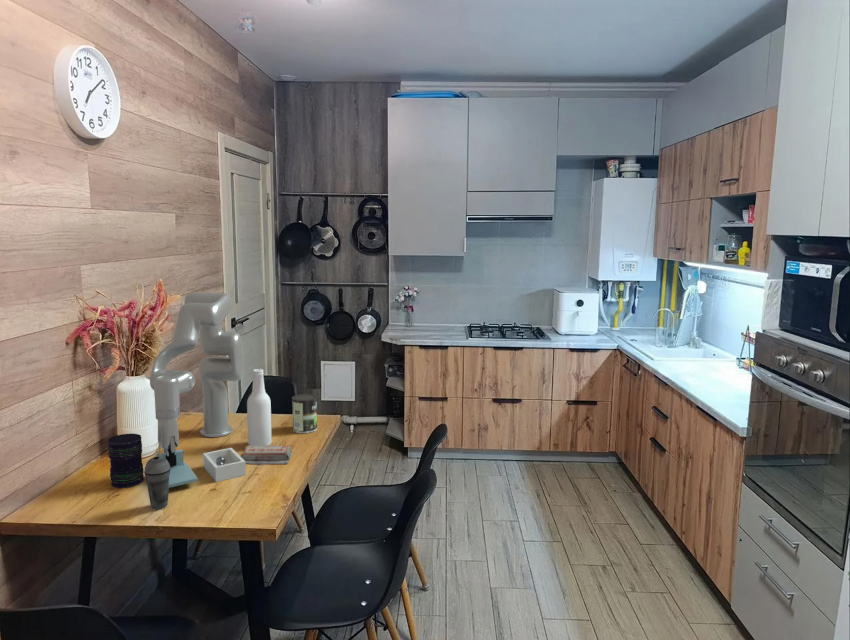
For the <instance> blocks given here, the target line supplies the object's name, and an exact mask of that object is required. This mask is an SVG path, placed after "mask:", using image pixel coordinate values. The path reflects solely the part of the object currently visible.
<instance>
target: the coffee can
mask: <svg viewBox="0 0 850 640" xmlns="http://www.w3.org/2000/svg"><path fill="white" fill-rule="evenodd" d="M317 399H318V396H317V395H316V394H312V393H302V394H296V395H293V396H292V397H291V402H292V432H294V433H297V434H310V432H311V433H314V432H316V431H317V430H318V400H317ZM313 431H314V432H313Z"/></svg>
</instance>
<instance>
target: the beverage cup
mask: <svg viewBox="0 0 850 640" xmlns="http://www.w3.org/2000/svg"><path fill="white" fill-rule="evenodd" d="M161 453H162V447H161V443H159V442H158V454H159V455H158V457H157V456H154V457H151V458H150V459H149V460H147V462H146V464H145V467H144V473H143V475H144V476H145V479H146V485H147V491H148V497H149V503H150V509H151V508H152V509H151V510H153V509H155V510H154V511H157V510H156V509H161V510H163V509H162V508H164V509H166V508H167V507H168V506H167V505H169V504H168V503H169V489H170V488H169V475H170V470H171V468H170V465H169V462H168V461H167V460H166V459H165V458H163V457H160V454H161ZM166 506H167V507H166ZM165 507H166V508H165Z"/></svg>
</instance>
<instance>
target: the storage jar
mask: <svg viewBox="0 0 850 640" xmlns="http://www.w3.org/2000/svg"><path fill="white" fill-rule="evenodd" d="M142 442H143V441H142V435H141V434H138V433H122V434H117V435H115V436H112V437H110V438H109V439H108V441H107V443H108V446H107V447H108V448H107V449H108V450H107V451H108V457H109V462H110V468H109V471H110V472H109V478H110V485H111V487H112V488H114V489H129V488H132V487H136V486H138V485H141V484H142V483H143V482H144V471H145V468H144V463H143V459H142V458H143V457H142V453H143V443H142Z"/></svg>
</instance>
